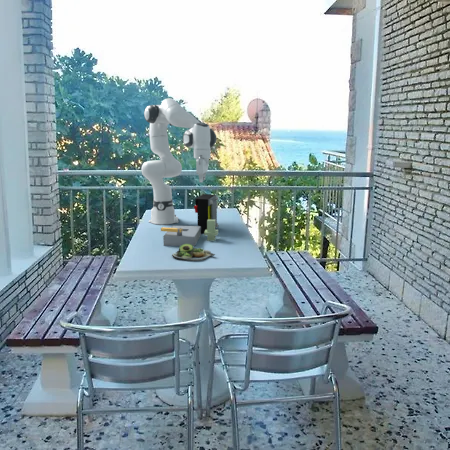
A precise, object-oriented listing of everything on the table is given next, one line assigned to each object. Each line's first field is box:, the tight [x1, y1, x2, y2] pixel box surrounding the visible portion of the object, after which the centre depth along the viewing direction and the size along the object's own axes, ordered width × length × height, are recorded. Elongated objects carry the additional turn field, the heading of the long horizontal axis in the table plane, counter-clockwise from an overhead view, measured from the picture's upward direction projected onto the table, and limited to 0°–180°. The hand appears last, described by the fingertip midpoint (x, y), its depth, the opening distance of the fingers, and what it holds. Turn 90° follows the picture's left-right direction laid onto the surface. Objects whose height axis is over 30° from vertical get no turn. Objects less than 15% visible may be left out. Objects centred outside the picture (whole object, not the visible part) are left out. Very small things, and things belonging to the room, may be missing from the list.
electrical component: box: [193, 193, 219, 235], centre depth 266 cm, size 18×10×20 cm, turn 168°
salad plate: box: [171, 244, 216, 262], centre depth 217 cm, size 19×18×5 cm
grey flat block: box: [162, 225, 202, 247], centre depth 246 cm, size 24×16×5 cm, turn 175°
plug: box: [203, 219, 219, 242], centre depth 246 cm, size 7×7×11 cm
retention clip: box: [160, 226, 183, 236], centre depth 237 cm, size 11×3×3 cm, turn 75°
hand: (202, 181), depth 244 cm, fingers open, 8 cm apart
